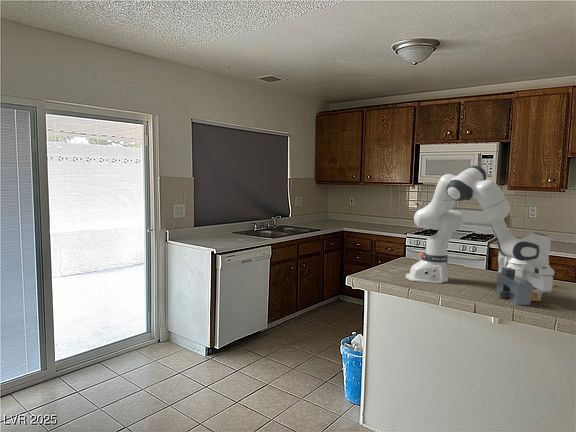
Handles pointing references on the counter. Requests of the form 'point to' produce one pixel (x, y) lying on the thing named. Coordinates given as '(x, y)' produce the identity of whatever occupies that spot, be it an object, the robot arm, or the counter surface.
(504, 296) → the plug
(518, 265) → the honey pot
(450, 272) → the counter surface
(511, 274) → the grey block
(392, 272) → the counter surface
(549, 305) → the counter surface
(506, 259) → the beer glass
